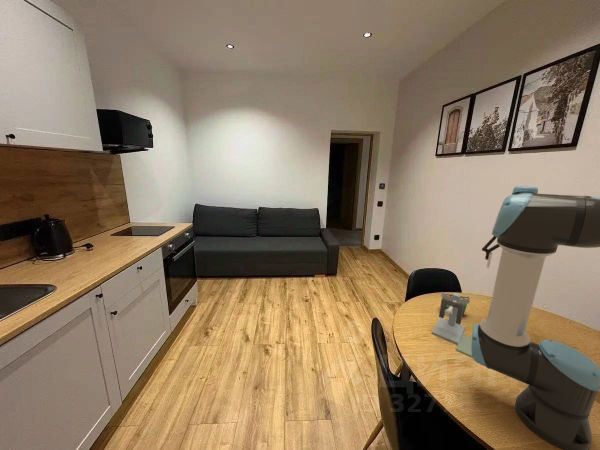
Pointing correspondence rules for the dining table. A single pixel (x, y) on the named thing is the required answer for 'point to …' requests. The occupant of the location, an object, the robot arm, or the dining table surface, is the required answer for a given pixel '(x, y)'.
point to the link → (453, 304)
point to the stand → (450, 324)
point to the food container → (462, 301)
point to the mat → (465, 345)
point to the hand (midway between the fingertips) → (507, 271)
